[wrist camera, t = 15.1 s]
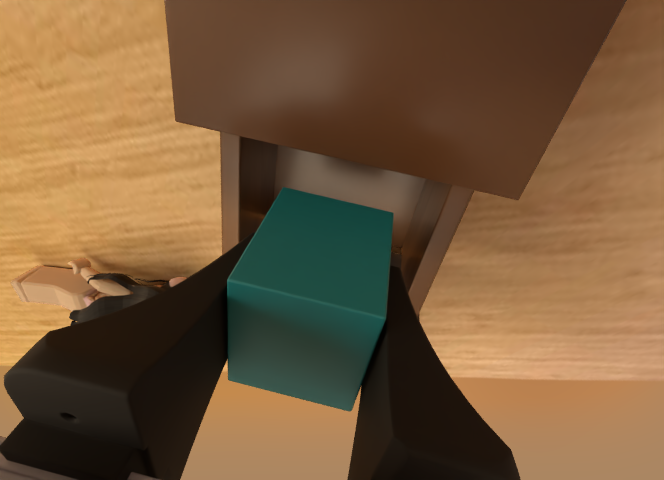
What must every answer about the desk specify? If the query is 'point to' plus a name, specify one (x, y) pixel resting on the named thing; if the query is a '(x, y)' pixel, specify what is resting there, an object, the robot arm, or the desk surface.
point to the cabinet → (390, 79)
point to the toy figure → (84, 289)
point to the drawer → (347, 185)
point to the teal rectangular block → (310, 298)
